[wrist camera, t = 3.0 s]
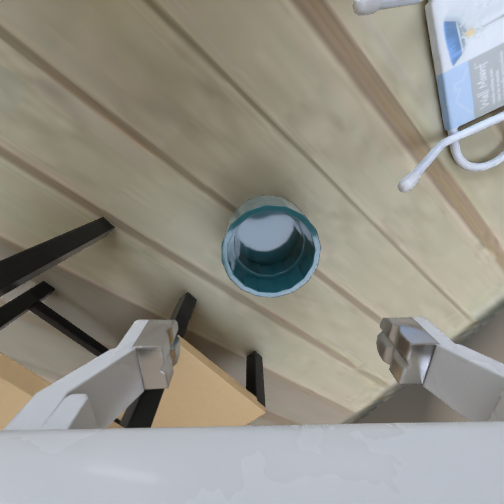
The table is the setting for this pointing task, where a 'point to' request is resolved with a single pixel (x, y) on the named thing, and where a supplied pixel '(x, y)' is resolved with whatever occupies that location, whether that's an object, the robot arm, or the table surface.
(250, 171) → the table surface
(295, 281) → the cup
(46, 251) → the rack
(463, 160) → the wall mount rack
